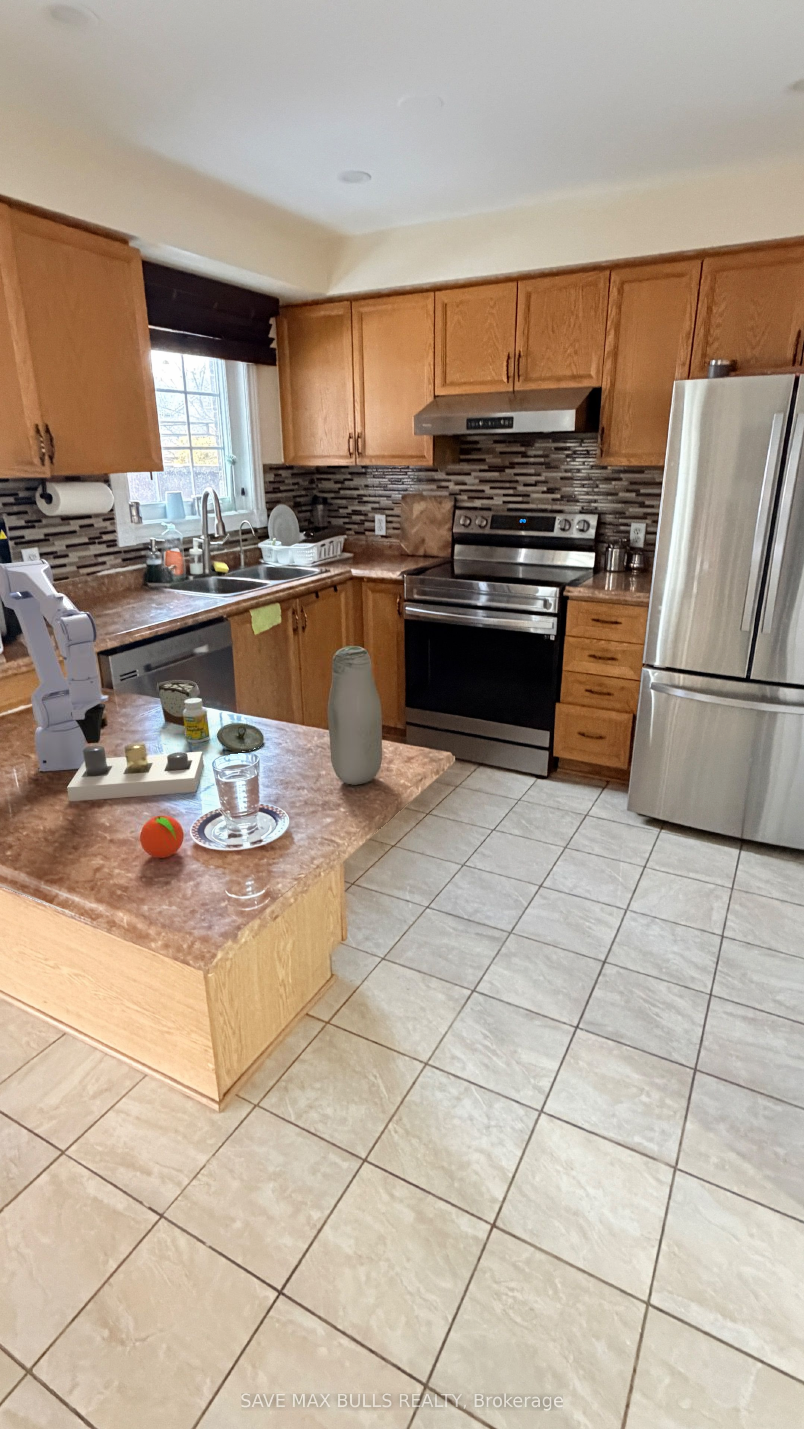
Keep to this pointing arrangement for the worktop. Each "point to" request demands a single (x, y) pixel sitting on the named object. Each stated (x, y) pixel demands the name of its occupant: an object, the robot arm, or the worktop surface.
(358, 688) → the grey bottle
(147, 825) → the clementine
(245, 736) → the lid
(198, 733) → the supplement bottle
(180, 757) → the knob
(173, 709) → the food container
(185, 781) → the housing
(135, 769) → the knob middle
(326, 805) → the worktop surface
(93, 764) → the knob
